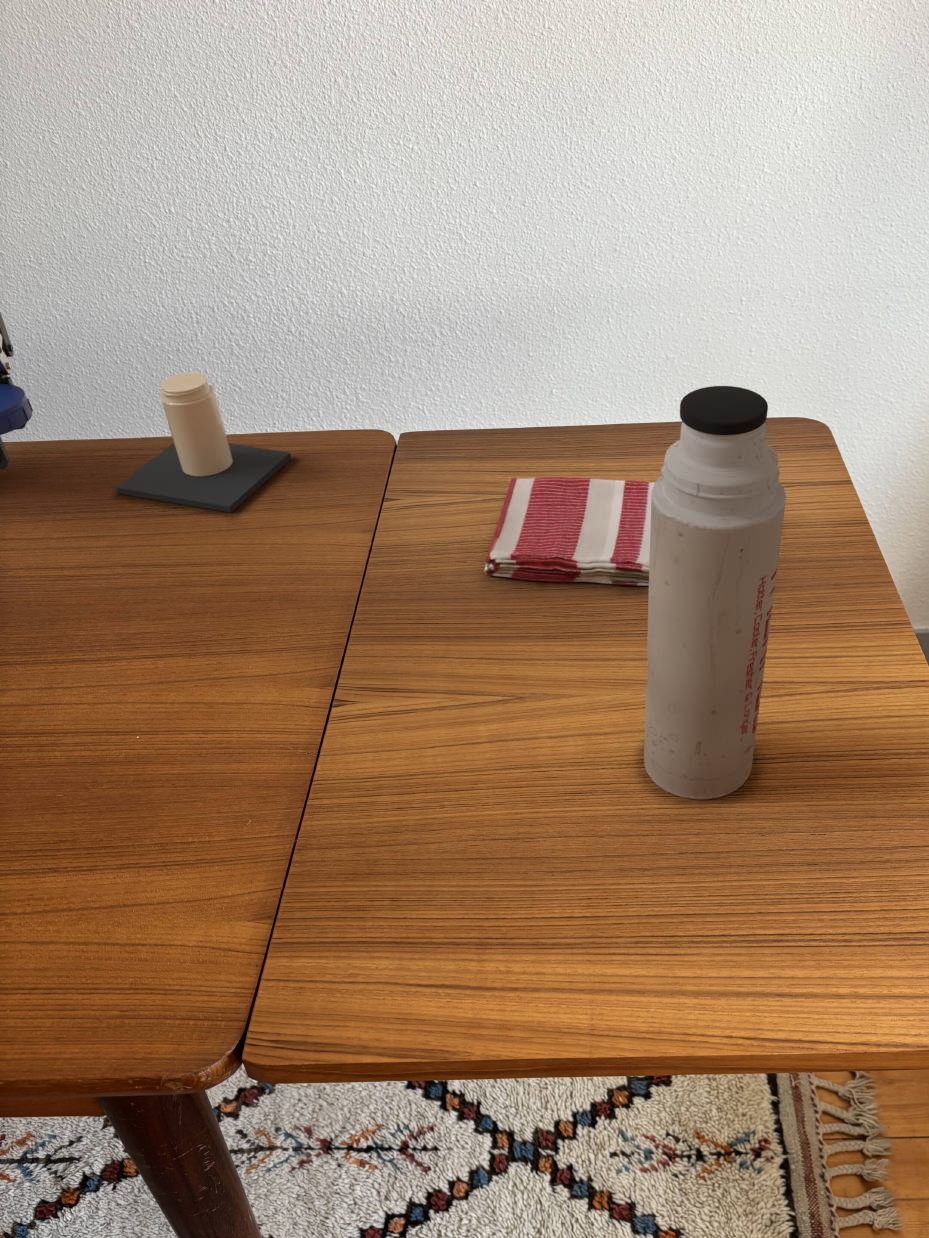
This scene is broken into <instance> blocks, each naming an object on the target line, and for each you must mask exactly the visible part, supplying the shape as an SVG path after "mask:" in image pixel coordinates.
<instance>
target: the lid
mask: <svg viewBox="0 0 929 1238" xmlns="http://www.w3.org/2000/svg"><path fill="white" fill-rule="evenodd" d="M25 392H26V391H25V390H24V389H23V388H22V387H20V386H18V385H14V384H13V385H10V384H0V436H2V435H5V434H8V433H12V432H13V431H16V430H15V429H17V428H19V427H21V426H23V425H24V424H25V423H26V424H27V423H28V422H29V421H30V419H32V416H33V412H34V409H33V406H32V404H31V402H30V399H29V398H28V397H27V395H26V393H25Z"/></svg>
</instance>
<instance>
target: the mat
mask: <svg viewBox="0 0 929 1238" xmlns="http://www.w3.org/2000/svg"><path fill="white" fill-rule="evenodd" d="M228 443H229V442H228ZM229 447H230V451H231V454H232V458H233V462H232V465H231V466H230V467H229V468H227V469H226V470H224V471H222V472H220V473H217V474H214V475H210V476H191V475H188V474H186V473H184V472H183V470H182V468H181V465H180V461H179V458H178V455H177V452H176V448H175V445H174V442H173V443H171V444H170V445H168V447H166V448H165V449H163V450H162V451H161V452H160V453H158V454H157V455H156V456H155V457H153V458H152V459H150V460H149V461H148V462H147V463H145V464H144V465H142V467H140V468H139V469H138V470H136V471H135V472H134V473H132V474H131V475H130V476H128V477H127V478H126V479H125V480H123V481H121V483H119V484H118V485H117V486H116V487H115V489H116V492H117V494H118V495H125V496H131V497H136V498H141V499H148V500H154V501H160V502H164V503H172V504H176V505H177V504H178V505H182V506H189V507H194V508H200V509H206V510H211V511H218V512H223V513H229V514H232V513H233V512H235V511H236V510H237V508H239V507H240V506H241V505H242V504H243V503H244V502H245V501H246V500H248V499H249V498H250V497H251V496H253V494H254V493H255V492H257V491H258V490H259V489H260V488H261V487H262V486H264V484H265V483H266V482H269V480H270V479H271V478H272V477H273V476H274V475H275V474H277V473H278V472H279V471H280V470H281V469H282V468H283V467H285V465H286V464H288V463H289V462H290V461H291V460H292V454H291V452H289V451H282V450H276V449H271V448H270V449H269V448H264V447H263V448H262V447H255V446H250V445H242V444H237V443H229Z"/></svg>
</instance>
